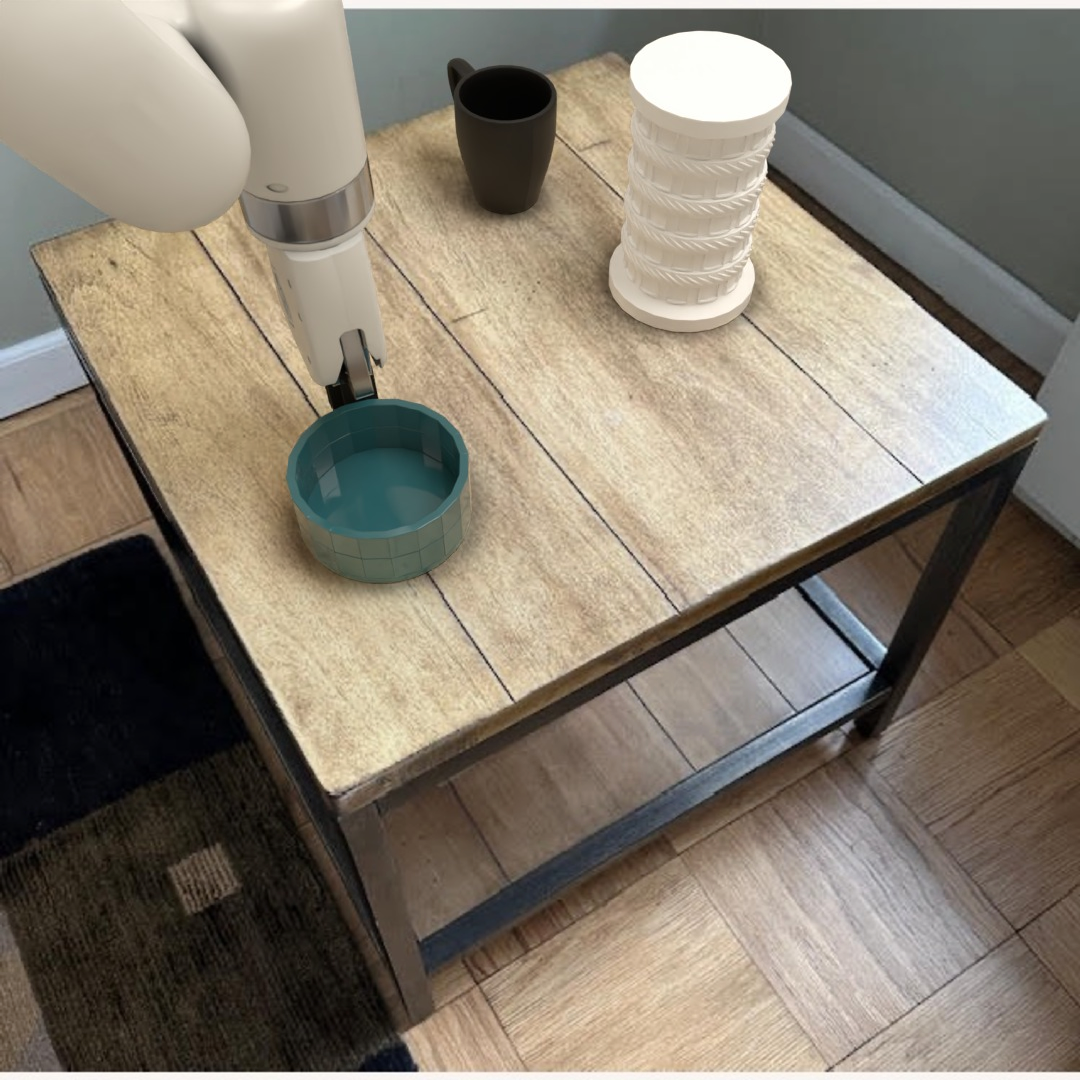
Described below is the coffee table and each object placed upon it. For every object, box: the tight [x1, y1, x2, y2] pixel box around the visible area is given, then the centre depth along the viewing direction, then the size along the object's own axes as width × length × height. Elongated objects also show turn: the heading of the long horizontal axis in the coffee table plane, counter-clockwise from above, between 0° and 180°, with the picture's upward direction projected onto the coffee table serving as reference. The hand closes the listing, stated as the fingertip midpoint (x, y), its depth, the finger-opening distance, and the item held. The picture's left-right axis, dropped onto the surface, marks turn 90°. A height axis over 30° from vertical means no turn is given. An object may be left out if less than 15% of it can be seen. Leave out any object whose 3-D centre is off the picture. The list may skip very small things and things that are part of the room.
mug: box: [446, 57, 558, 215], centre depth 91 cm, size 8×12×10 cm
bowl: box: [285, 398, 473, 584], centre depth 72 cm, size 12×12×5 cm
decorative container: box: [608, 30, 793, 333], centre depth 81 cm, size 12×12×18 cm
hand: (354, 406), depth 77 cm, fingers closed
